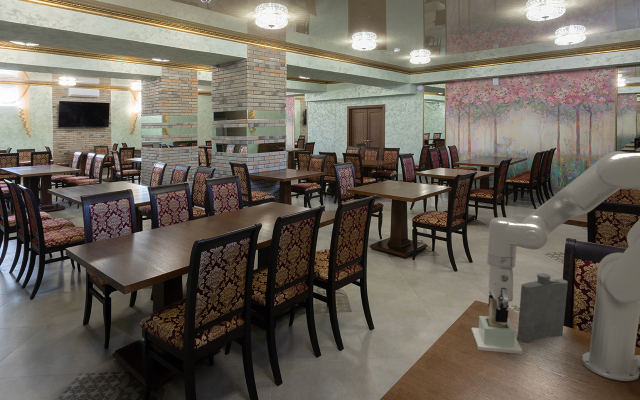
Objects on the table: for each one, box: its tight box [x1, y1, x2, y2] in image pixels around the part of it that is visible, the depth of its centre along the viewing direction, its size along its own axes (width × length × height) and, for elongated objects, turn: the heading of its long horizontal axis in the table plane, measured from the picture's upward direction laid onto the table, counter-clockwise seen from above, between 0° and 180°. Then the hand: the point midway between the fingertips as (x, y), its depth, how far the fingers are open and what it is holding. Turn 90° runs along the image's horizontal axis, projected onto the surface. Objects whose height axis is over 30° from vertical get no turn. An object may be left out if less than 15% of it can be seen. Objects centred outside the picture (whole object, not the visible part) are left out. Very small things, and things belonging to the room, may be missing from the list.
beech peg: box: [488, 298, 506, 328], centre depth 122 cm, size 4×4×12 cm
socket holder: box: [471, 315, 524, 355], centre depth 123 cm, size 12×12×6 cm
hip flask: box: [516, 272, 569, 343], centre depth 124 cm, size 16×4×20 cm, turn 105°
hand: (497, 314), depth 122 cm, fingers open, 9 cm apart
